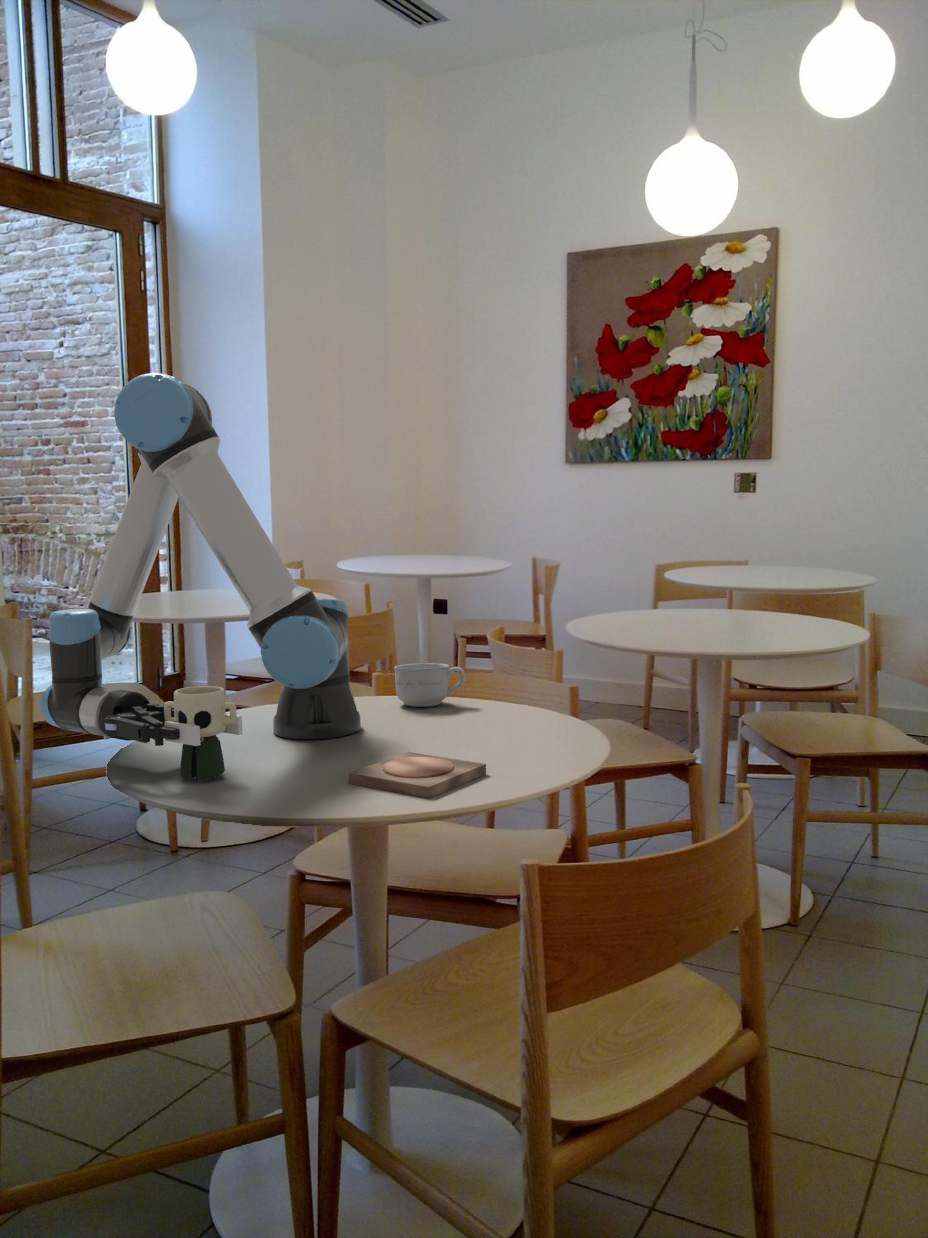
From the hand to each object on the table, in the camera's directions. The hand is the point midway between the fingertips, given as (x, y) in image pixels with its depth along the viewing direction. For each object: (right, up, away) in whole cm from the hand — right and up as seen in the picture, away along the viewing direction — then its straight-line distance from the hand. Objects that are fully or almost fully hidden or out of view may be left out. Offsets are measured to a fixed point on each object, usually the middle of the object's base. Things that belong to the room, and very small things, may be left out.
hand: (219, 730), depth 142 cm
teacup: (+28, -1, +54) cm, 61 cm away
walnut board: (+28, -7, +1) cm, 29 cm away
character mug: (-3, -7, +3) cm, 9 cm away
